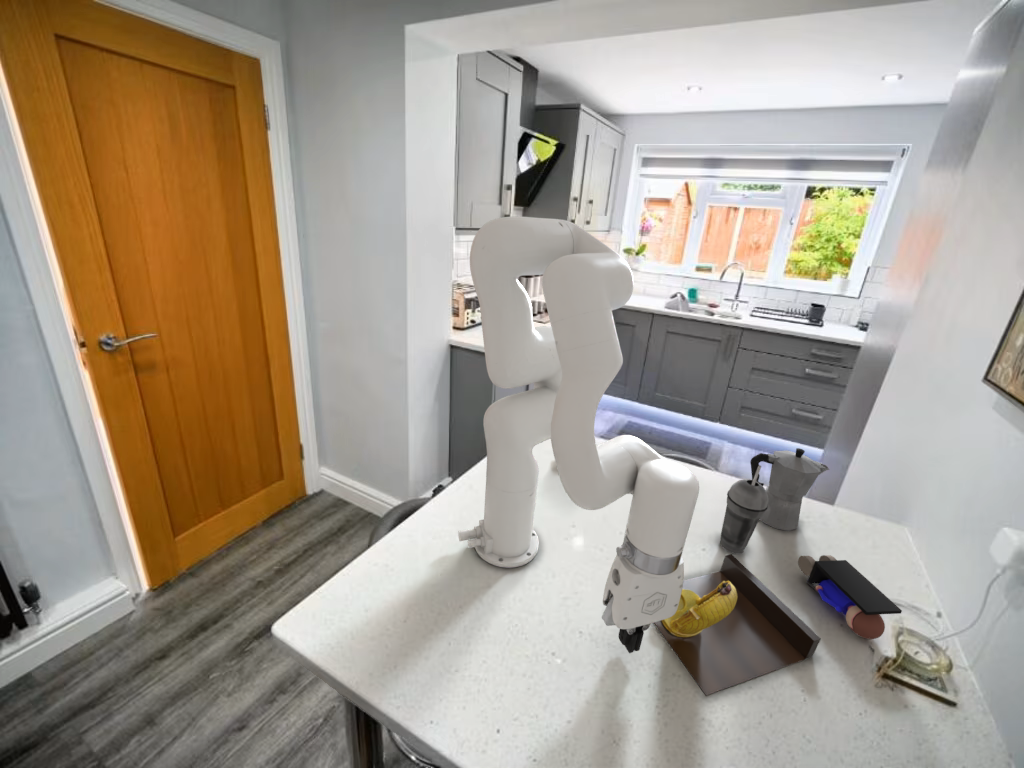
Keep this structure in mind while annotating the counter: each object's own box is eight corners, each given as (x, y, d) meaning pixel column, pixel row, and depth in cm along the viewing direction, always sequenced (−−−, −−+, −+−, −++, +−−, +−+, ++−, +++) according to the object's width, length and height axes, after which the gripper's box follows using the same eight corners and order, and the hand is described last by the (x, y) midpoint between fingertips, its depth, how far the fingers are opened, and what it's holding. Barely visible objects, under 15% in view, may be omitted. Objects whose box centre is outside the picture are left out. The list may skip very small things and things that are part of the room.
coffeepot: (798, 509, 103) (824, 443, 96) (816, 537, 94) (846, 466, 87) (729, 498, 105) (750, 432, 98) (740, 523, 96) (764, 453, 90)
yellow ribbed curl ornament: (732, 661, 66) (760, 588, 60) (684, 671, 64) (709, 595, 58) (687, 599, 76) (708, 531, 70) (645, 605, 74) (663, 536, 69)
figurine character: (788, 580, 84) (854, 647, 70) (797, 546, 82) (868, 608, 67) (820, 579, 85) (892, 645, 70) (830, 546, 83) (906, 606, 68)
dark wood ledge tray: (705, 695, 61) (712, 676, 60) (633, 593, 77) (637, 576, 75) (812, 656, 68) (821, 638, 66) (726, 569, 83) (731, 553, 82)
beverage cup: (750, 541, 91) (779, 459, 84) (752, 564, 85) (783, 478, 78) (713, 529, 94) (738, 448, 87) (712, 550, 88) (738, 466, 80)
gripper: (618, 580, 53) (596, 681, 60) (715, 558, 58) (685, 653, 65) (589, 538, 60) (572, 633, 67) (679, 521, 64) (655, 611, 71)
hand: (628, 643), depth 66 cm, fingers closed
